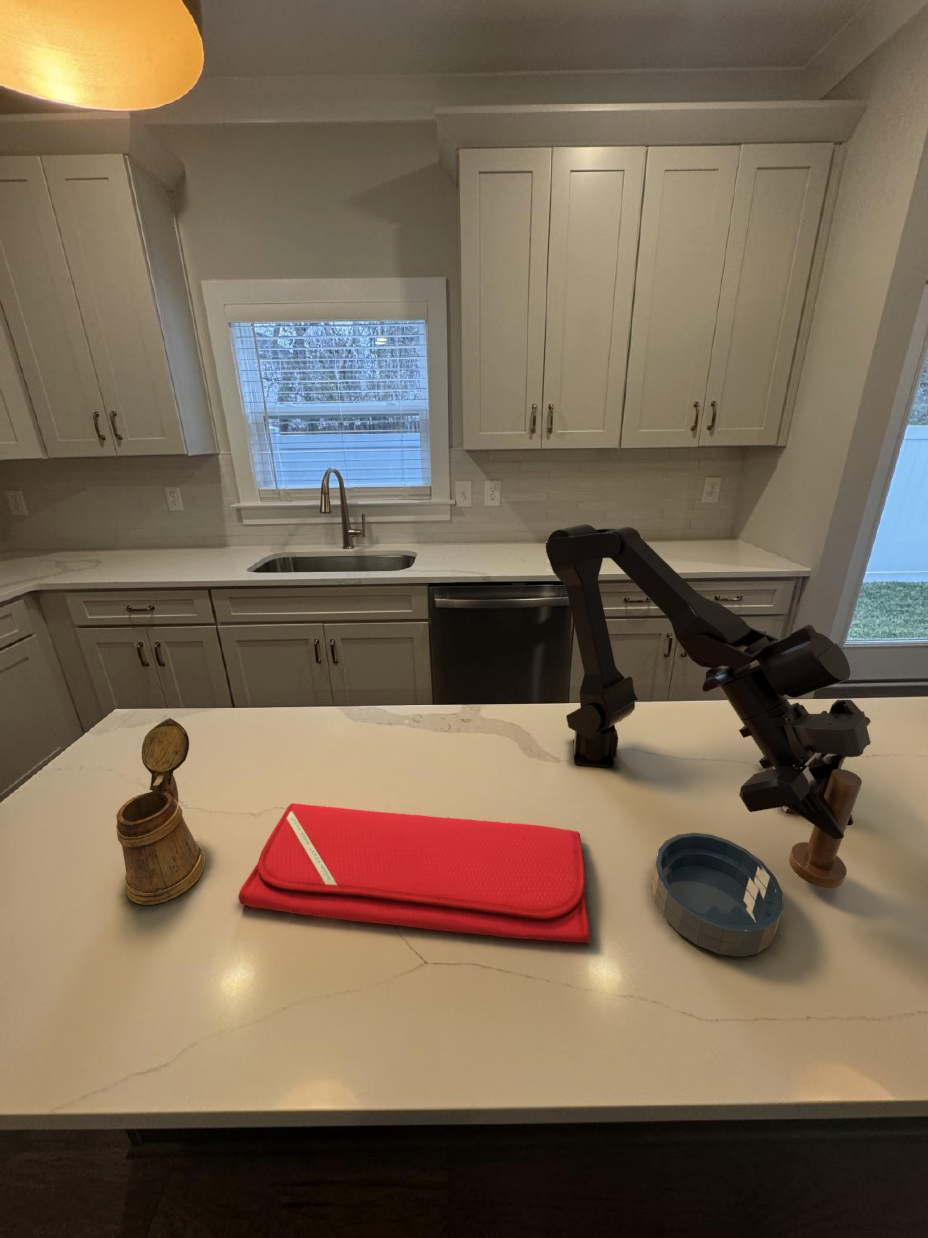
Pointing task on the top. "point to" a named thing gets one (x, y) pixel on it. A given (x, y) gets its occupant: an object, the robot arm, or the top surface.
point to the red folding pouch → (424, 873)
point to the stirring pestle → (820, 852)
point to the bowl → (717, 894)
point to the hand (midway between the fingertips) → (844, 831)
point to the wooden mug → (159, 825)
